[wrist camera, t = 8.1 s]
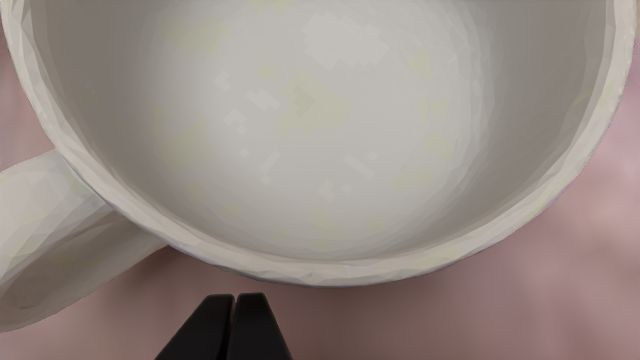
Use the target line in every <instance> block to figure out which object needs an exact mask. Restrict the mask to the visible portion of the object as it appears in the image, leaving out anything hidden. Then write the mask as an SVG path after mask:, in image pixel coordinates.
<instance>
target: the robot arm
mask: <svg viewBox="0 0 640 360" xmlns="http://www.w3.org/2000/svg"><path fill="white" fill-rule="evenodd" d="M154 360H293V359H292V357H291V354H290V352H289V350H288V347H287V345H286V343H285V340H284V338H283V336H282V333H281V331H280V329H279V326H278V324H277V322H276V319H275V317H274V315H273V312H272V310H271V308H270V305H269V303H268V301H267V298H266V296H265V295H264V294H263V293H242V294H240V295H239V296H238V298H237V302H235V298H234V296H233V295H232V294H214V295H209V296H207V297H206V298H205V299H204V300H203V301H202V302H201V304H200V305H199V306H198V307H197V308H196V310H195V311H194V312H193V313H192V315H191V316H190V317H189V318H188V319H187V321H186V322H185V323H184V324H183V325H182V327H181V328H180V329H179V330H178V331H177V333H176V334H175V335H174V336H173V337H172V339H171V340H170V341H169V342H168V344H167V345H166V346H165V347H164V348H163V350H162V351H161V352H160V353H159V354H158V356H157V357H156V358H155V359H154Z"/></svg>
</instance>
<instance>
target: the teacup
mask: <svg viewBox="0 0 640 360" xmlns="http://www.w3.org/2000/svg"><path fill="white" fill-rule="evenodd" d="M0 12H1V19H2V25H3V29H4V34H5V38H6V42H7V47H8V50H9V53H10V56H11V59H12V62H13V65H14V68H15V72H16V75H17V77H18V79H19V81H20V83H21V85H22V88H23V90H24V92H25V94H26V96H27V98H28V100H29V102H30V104H31V106H32V108H33V110H34V112H35V114H36V116H37V117H38V119H39V122H40V124H41V126H42V128H43V130H44V132H45V133H46V134H47V136H48V137H49V139H50V140H51V141H52V143H53V144H54V146H55V147H56V148H55V149H53V150H50V151H48V152H45V153H43V154H40V155H38V156H35V157H33V158H30V159H28V160H25V161H23V162H20V163H18V164H15V165H13V166H11V167H9V168H7V169H5V170H4V171H2V172H0V333H3V332H8V331H12V330H17V329H20V328H23V327H25V326H28V325H31V324H33V323H36V322H38V321H40V320H42V319H45V318H47V317H49V316H51V315H53V314H55V313H57V312H59V311H60V310H62V309H64V308H66V307H68V306H69V305H71V304H73V303H75V302H76V301H78V300H80V299H82V298H83V297H85V296H87V295H89V294H90V293H92V292H94V291H96V290H97V289H99V288H100V287H102V286H103V285H105V284H107V283H108V282H110V281H111V280H113V279H114V278H116V277H117V276H119V275H120V274H122V273H123V272H125V271H126V270H128V269H129V268H131V267H132V266H134V265H135V264H137V263H138V262H140V261H141V260H143V259H144V258H146V257H147V256H149V255H150V254H152V253H153V252H155V251H157V250H159V249H161V248H163V247H165V246H167V245H170V246H171V247H173V248H175V249H177V250H179V251H180V252H182V253H185V254H187V255H189V256H191V257H194V258H196V259H198V260H201V261H203V262H205V263H208V264H210V265H212V266H214V267H217V268H219V269H222V270H225V271H228V272H231V273H235V274H238V275H241V276H245V277H248V278H251V279H255V280H258V281H264V282H271V283H278V284H285V285H293V286H302V287H310V288H319V289H325V288H350V287H360V286H368V285H375V284H381V283H386V282H392V281H397V280H403V279H408V278H413V277H419V276H423V275H426V274H429V273H432V272H435V271H438V270H441V269H444V268H446V267H448V266H450V265H452V264H454V263H457V262H459V261H461V260H463V259H465V258H467V257H470V256H472V255H475V254H478V253H480V252H481V251H483V250H485V249H487V248H489V247H491V246H493V245H494V244H496V243H498V242H500V241H502V240H503V239H505V238H506V237H508V236H509V235H511V234H512V233H514V232H515V231H517V230H518V229H520V228H521V227H523V226H524V225H525V224H527V223H528V222H530V221H531V220H533V219H534V218H535V217H537V216H538V215H539V214H540V213H542V212H543V211H544V210H545V209H546V208H547V207H549V206H550V205H551V204H552V203H553V202H555V201H556V200H557V199H558V198H559V196H560V195H561V194H562V193H563V192H564V191H565V190H566V188H567V187H568V186H569V185H570V184H571V183H572V182H573V181H574V179H575V178H576V177H577V176H578V175H579V174H580V173H581V171H582V170H583V168H584V167H585V165H586V164H587V162H588V161H589V159H590V158H591V156H592V155H593V153H594V152H595V150H596V148H597V147H598V145H599V143H600V142H601V140H602V138H603V136H604V135H605V133H606V131H607V129H608V128H609V126H610V124H611V122H612V120H613V117H614V115H615V113H616V111H617V109H618V106H619V104H620V101H621V97H622V93H623V89H624V86H625V82H626V79H627V75H628V72H629V69H630V65H631V62H632V55H633V49H634V42H635V35H636V29H637V23H636V0H0Z"/></svg>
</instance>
